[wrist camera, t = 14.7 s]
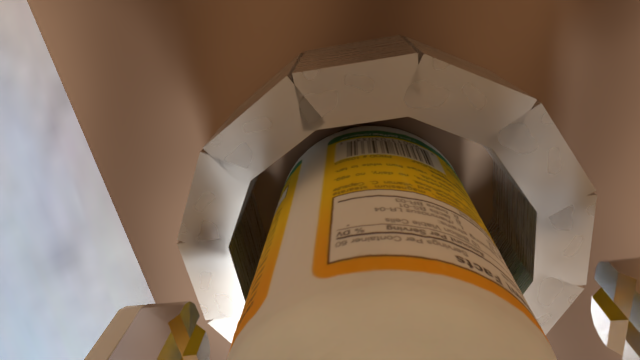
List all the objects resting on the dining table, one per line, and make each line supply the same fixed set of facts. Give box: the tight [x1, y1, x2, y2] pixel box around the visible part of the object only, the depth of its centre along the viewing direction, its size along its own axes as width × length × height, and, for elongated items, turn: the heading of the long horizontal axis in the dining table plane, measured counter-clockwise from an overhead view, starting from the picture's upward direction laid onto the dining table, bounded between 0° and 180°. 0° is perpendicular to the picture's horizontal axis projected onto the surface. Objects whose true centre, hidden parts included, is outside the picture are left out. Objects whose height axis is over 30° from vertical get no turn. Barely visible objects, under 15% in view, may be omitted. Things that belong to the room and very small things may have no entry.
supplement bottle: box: [227, 126, 557, 360], centre depth 8 cm, size 5×5×10 cm
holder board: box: [27, 0, 640, 360], centre depth 12 cm, size 16×17×4 cm
